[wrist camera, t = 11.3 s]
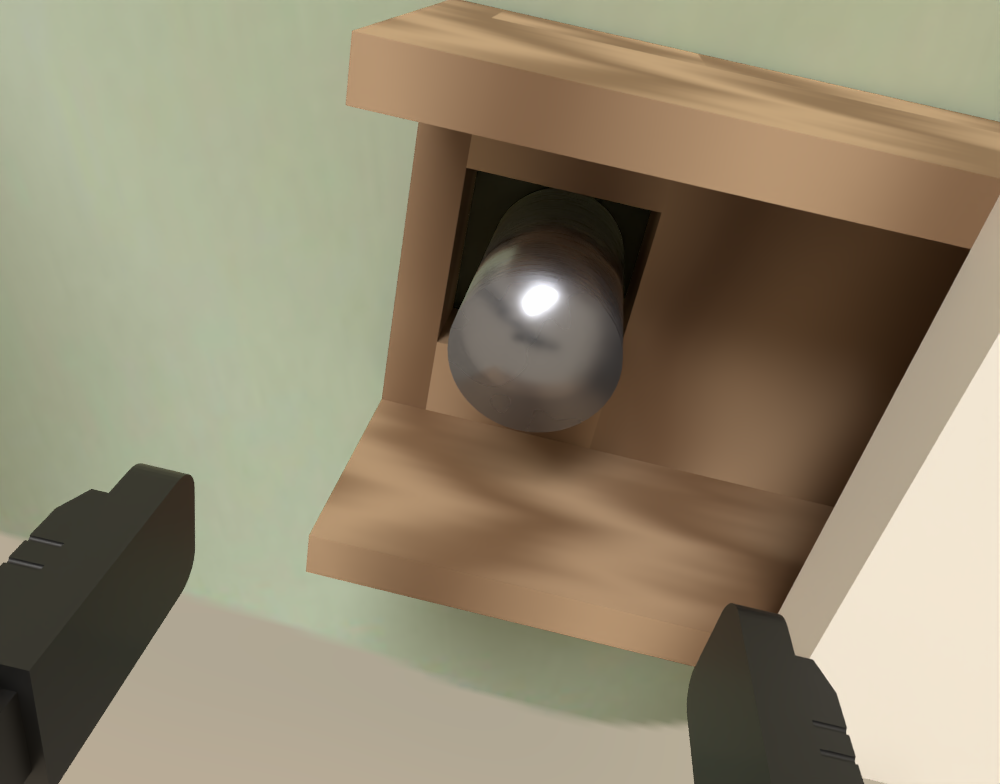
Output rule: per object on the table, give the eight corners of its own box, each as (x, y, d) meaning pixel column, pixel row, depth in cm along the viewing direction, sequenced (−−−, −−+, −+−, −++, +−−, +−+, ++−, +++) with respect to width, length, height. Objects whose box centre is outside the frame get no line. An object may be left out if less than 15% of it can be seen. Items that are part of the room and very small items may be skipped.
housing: (397, 392, 27) (306, 571, 19) (453, -2, 21) (351, 30, 13) (1026, 542, 27) (1191, 788, 19) (1281, 185, 20) (1688, 336, 12)
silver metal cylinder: (505, 174, 23) (462, 256, 17) (639, 205, 23) (644, 298, 17) (482, 297, 25) (436, 410, 19) (604, 326, 25) (597, 449, 19)
